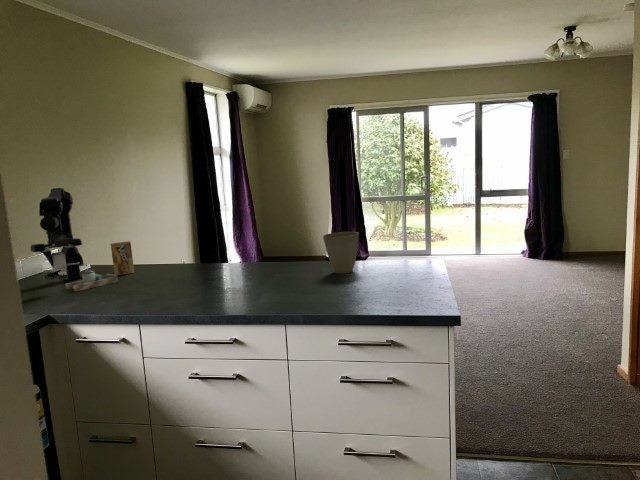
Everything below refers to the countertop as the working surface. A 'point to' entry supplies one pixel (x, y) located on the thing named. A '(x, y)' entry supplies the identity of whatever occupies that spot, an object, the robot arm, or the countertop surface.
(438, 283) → the countertop surface
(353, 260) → the plant pot
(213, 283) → the countertop surface
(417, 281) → the countertop surface
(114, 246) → the candy box
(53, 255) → the jar
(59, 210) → the robot arm
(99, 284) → the lane
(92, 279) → the jar in lane
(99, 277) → the follower
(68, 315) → the countertop surface
